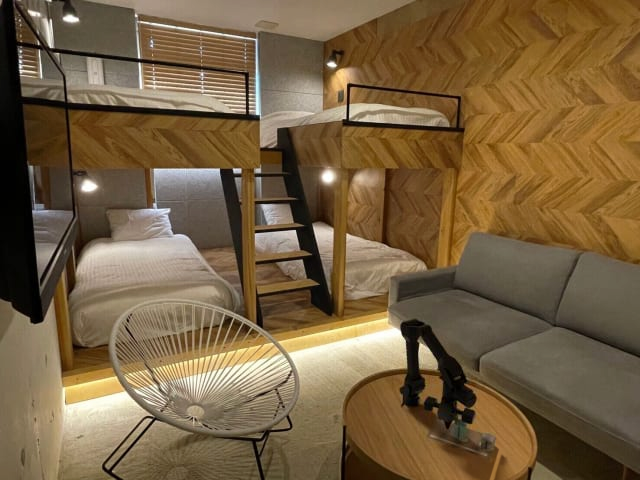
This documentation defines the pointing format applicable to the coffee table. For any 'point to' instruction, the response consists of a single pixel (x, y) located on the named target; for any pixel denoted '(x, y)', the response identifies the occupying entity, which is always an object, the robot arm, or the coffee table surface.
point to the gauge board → (472, 443)
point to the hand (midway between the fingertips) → (447, 428)
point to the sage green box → (459, 429)
